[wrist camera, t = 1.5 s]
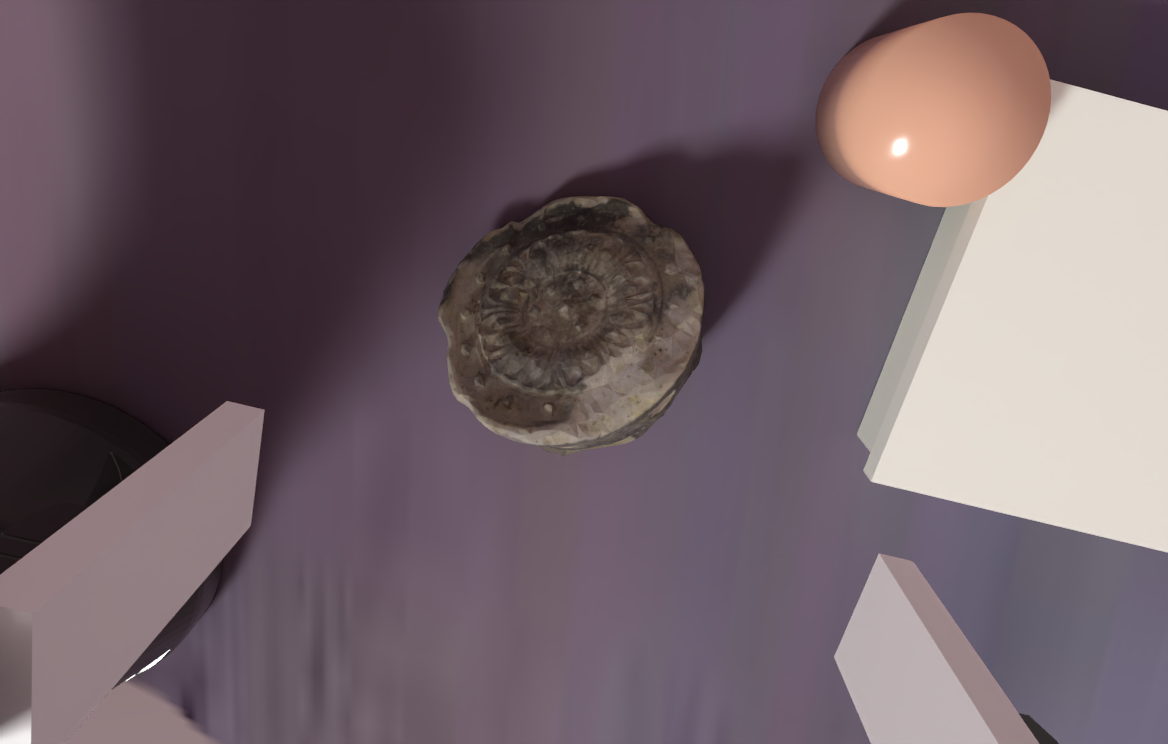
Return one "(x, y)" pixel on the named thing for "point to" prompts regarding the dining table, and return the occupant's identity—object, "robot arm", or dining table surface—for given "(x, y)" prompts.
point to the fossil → (574, 324)
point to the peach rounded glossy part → (936, 109)
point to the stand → (1044, 337)
